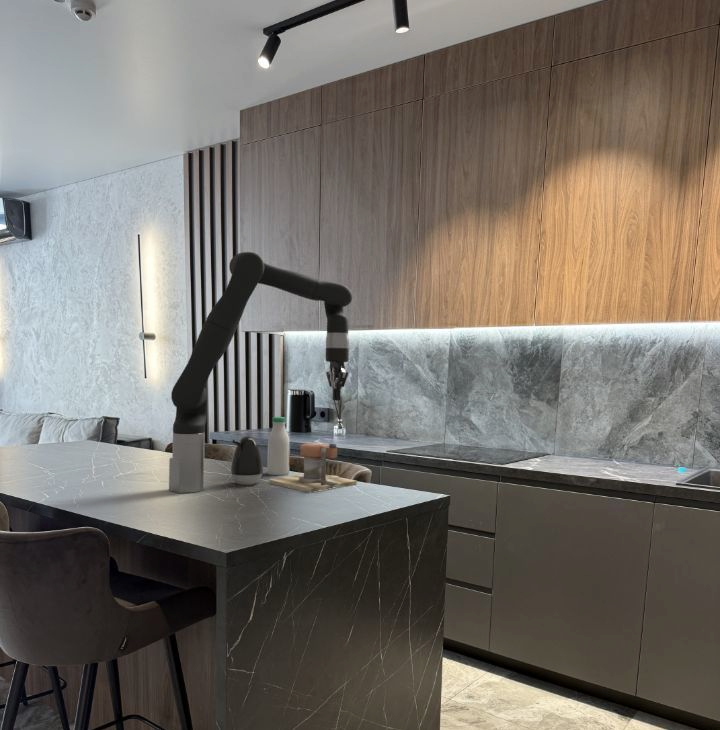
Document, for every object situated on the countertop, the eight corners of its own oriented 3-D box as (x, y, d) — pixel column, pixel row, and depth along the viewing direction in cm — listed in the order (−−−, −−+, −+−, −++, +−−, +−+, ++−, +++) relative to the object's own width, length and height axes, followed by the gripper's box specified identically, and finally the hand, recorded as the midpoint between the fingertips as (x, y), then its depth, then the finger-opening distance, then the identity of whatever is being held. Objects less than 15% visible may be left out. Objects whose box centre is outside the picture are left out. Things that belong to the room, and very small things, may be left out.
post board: (309, 492, 177) (310, 450, 177) (269, 483, 191) (269, 444, 191) (356, 484, 191) (357, 445, 191) (315, 476, 205) (316, 440, 205)
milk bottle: (287, 476, 205) (288, 418, 205) (265, 475, 205) (266, 417, 205) (290, 472, 212) (291, 416, 213) (268, 471, 212) (269, 416, 213)
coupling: (295, 454, 191) (295, 441, 191) (314, 452, 197) (314, 439, 197) (325, 459, 181) (325, 445, 181) (344, 457, 187) (344, 443, 187)
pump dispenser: (224, 483, 190) (224, 435, 190) (252, 479, 197) (253, 433, 197) (239, 488, 182) (240, 438, 182) (268, 484, 189) (269, 436, 189)
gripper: (356, 347, 189) (355, 401, 189) (339, 348, 201) (338, 399, 200) (334, 346, 185) (333, 401, 185) (319, 347, 197) (318, 399, 197)
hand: (336, 400), depth 193 cm, fingers closed
